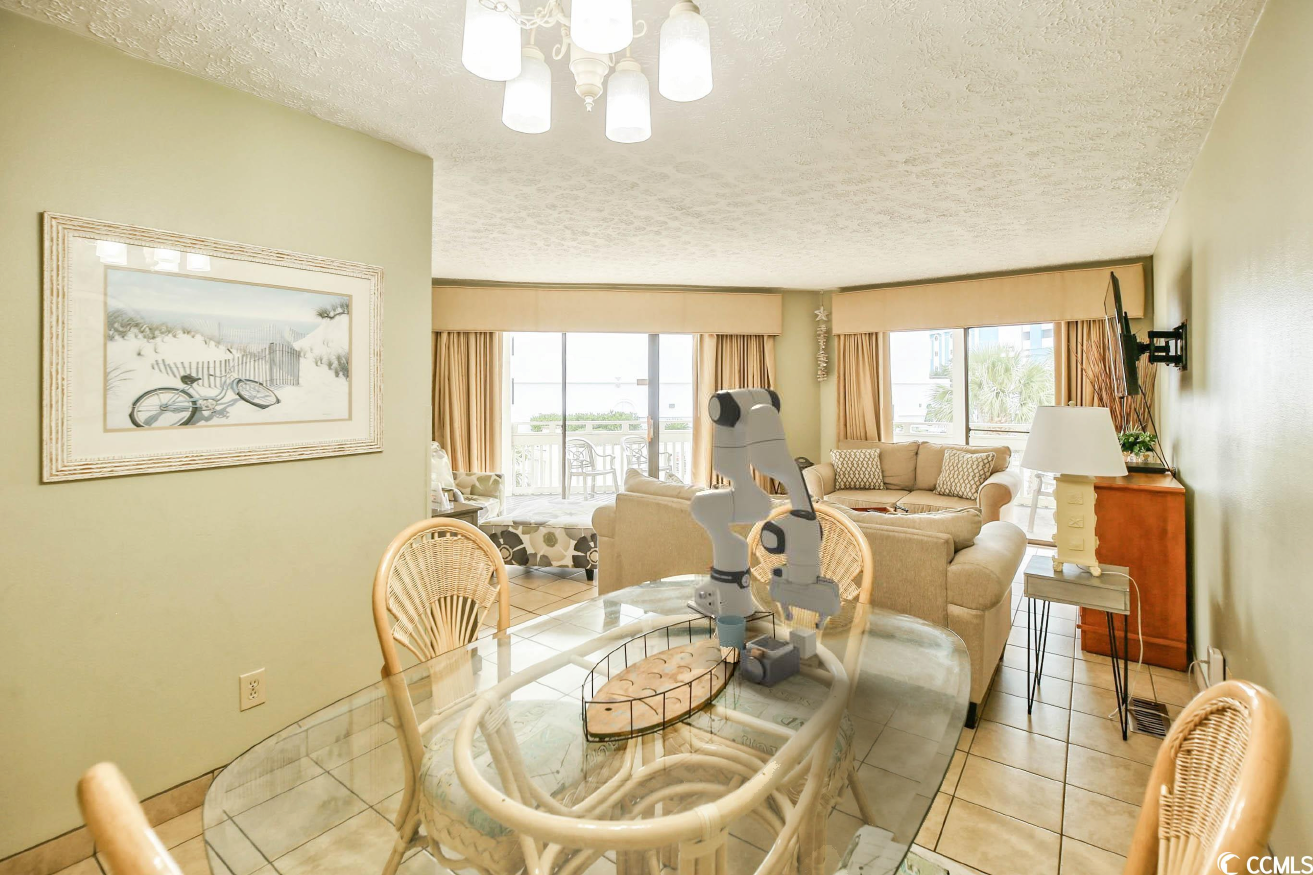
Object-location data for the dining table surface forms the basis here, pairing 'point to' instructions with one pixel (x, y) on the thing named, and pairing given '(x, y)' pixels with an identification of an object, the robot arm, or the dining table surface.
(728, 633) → the cup
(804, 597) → the robot arm
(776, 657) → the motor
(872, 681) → the dining table surface
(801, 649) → the pump block
